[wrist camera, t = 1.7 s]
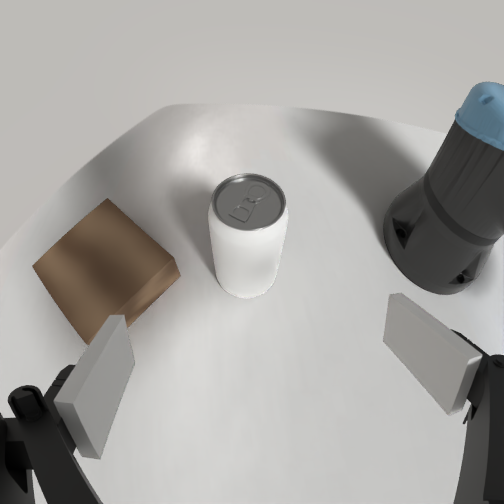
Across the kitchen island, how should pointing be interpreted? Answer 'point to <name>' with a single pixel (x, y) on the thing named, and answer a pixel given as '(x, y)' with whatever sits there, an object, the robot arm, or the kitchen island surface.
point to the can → (247, 233)
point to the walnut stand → (105, 270)
